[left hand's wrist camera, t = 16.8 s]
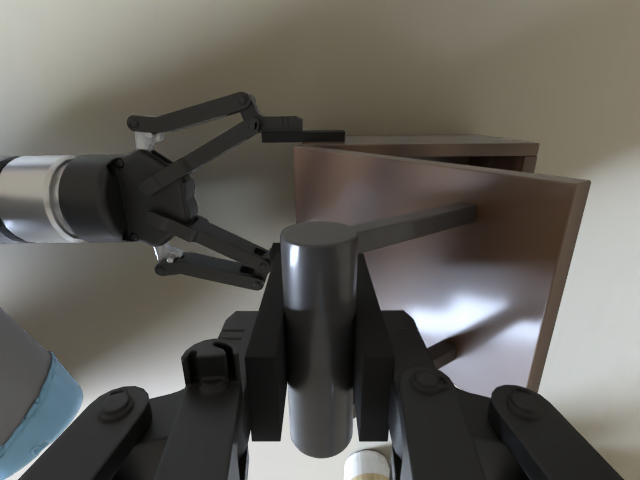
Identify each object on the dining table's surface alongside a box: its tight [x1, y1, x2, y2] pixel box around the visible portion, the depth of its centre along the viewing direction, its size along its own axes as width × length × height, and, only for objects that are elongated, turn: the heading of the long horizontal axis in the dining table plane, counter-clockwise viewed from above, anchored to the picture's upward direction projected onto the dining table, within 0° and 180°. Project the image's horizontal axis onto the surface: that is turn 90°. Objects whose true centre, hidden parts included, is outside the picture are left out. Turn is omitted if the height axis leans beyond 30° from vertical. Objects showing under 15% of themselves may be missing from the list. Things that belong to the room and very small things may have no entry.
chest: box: [300, 135, 539, 173], centre depth 31 cm, size 17×10×11 cm, turn 91°
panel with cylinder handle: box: [280, 145, 591, 458], centre depth 17 cm, size 17×10×9 cm
